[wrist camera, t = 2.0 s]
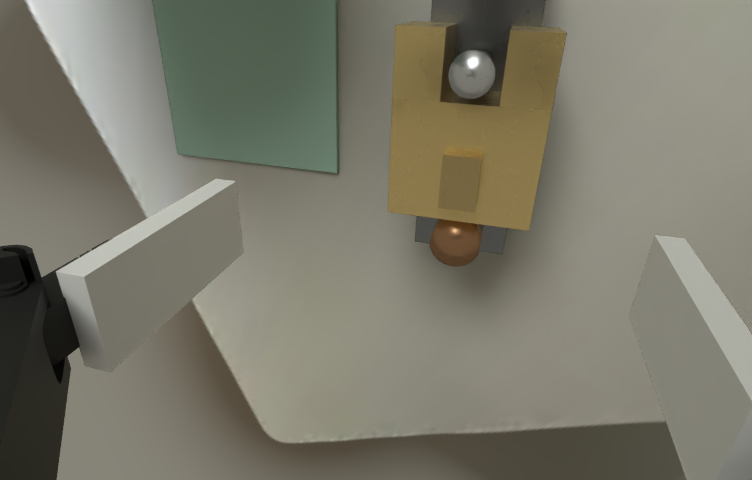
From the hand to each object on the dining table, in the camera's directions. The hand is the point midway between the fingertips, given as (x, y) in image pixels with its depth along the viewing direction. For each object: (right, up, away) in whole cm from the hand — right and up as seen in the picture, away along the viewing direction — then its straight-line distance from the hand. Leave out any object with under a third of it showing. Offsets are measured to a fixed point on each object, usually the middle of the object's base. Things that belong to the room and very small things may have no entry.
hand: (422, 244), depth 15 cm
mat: (-11, +13, +20) cm, 26 cm away
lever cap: (+4, +8, +14) cm, 16 cm away
